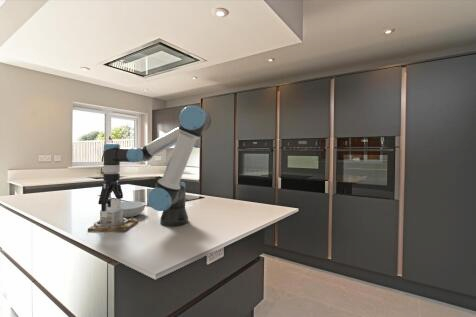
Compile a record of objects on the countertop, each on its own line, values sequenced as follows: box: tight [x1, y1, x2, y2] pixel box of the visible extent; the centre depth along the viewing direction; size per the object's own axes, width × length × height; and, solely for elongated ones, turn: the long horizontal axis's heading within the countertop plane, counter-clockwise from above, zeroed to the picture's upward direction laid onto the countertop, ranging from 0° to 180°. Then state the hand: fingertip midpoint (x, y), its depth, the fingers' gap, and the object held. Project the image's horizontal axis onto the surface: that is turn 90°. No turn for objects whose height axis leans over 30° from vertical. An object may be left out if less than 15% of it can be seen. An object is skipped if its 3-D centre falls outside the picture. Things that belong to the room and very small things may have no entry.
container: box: [99, 197, 123, 225], centre depth 126 cm, size 8×8×13 cm
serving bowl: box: [121, 200, 146, 219], centre depth 147 cm, size 21×21×7 cm
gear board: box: [87, 216, 139, 233], centre depth 126 cm, size 18×16×4 cm
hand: (111, 213), depth 126 cm, fingers open, 13 cm apart
